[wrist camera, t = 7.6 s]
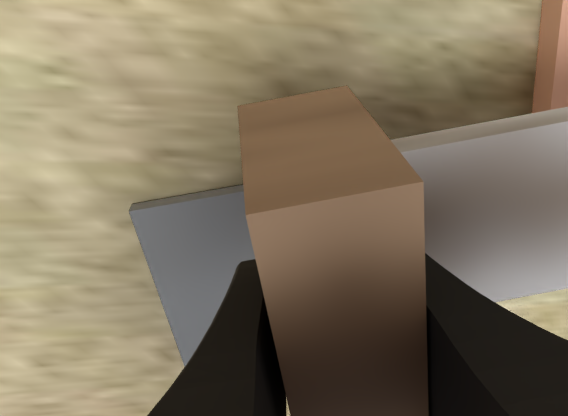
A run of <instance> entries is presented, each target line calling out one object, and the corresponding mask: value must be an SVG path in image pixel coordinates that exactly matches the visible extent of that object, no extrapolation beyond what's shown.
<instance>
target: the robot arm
mask: <svg viewBox="0 0 568 416" xmlns="http://www.w3.org/2000/svg"><path fill="white" fill-rule="evenodd" d="M425 274H426V319H427V364H428V410H429V416H568V340H566V339H563V338H561V337H559V336H557V335H555V334H553V333H550V332H548V331H546V330H544V329H542V328H540V327H538V326H536V325H534V324H533V323H531V322H529V321H527V320H525V319H523V318H521V317H519V316H518V315H516V314H514V313H512V312H510V311H508V310H507V309H505V308H503V307H501V306H500V305H498V304H496V303H495V302H493V301H492V300H490V299H489V298H487V297H485V296H484V295H482V294H481V293H479V292H478V291H476V290H474V289H473V288H472V287H470V286H469V285H467V284H466V283H464V282H463V281H462V280H460V279H459V278H458V277H456V276H455V275H453V274H452V273H451V272H449V271H448V270H447V269H445V268H444V267H443V266H441V265H440V264H439V263H438V262H436V261H435V260H434V259H432V258H431V257H430V256H429V255H427V254H426V253H425ZM147 416H286V392H285V388H284V383H283V379H282V375H281V370H280V366H279V361H278V357H277V352H276V348H275V344H274V339H273V335H272V330H271V326H270V321H269V317H268V312H267V308H266V304H265V299H264V295H263V290H262V286H261V281H260V277H259V273H258V268H257V264H256V259H253V260H247V261H241V262H240V263H239V264H238V266H237V268H236V270H235V273H234V276H233V278H232V281H231V283H230V286H229V288H228V290H227V293H226V295H225V297H224V299H223V301H222V303H221V305H220V307H219V309H218V311H217V313H216V315H215V317H214V319H213V321H212V323H211V325H210V327H209V329H208V330H207V332H206V334H205V335H204V337H203V339H202V340H201V342H200V344H199V345H198V347H197V349H196V351H195V352H194V354H193V355H192V357H191V358H190V360H189V361H188V363H187V365H186V366H185V367H184V369H183V370H182V372H181V373H180V375H179V376H178V377H177V379H176V380H175V381H174V383H173V384H172V386H171V387H170V388H169V390H168V391H167V392H166V393H165V395H164V396H163V397H162V398H161V400H160V401H159V402H158V403H157V404H156V406H155V407H154V408H153V409H152V411H151V412H150V413H149V414H148V415H147Z"/></svg>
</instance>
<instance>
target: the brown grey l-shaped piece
mask: <svg viewBox="0 0 568 416" xmlns="http://www.w3.org/2000/svg"><path fill="white" fill-rule="evenodd" d="M238 118H239V132H240V145H241V159H242V173H243V187H244V200H245V214H246V219H247V224H248V228H249V233H250V237H251V241H252V246H253V250H254V255H255V259H256V264H257V268H258V273H259V277H260V281H261V286H262V290H263V295H264V299H265V304H266V308H267V312H268V317H269V321H270V326H271V330H272V335H273V339H274V344H275V348H276V352H277V357H278V361H279V366H280V370H281V375H282V379H283V383H284V388H285V392H286V397H287V401H288V406H289V410H290V414H291V416H429V410H428V364H427V319H426V274H425V253H426V254H427V255H429V256H430V257H431V258H432V259H434V260H435V261H436V262H438V263H439V264H440V265H441V266H443V267H444V268H445V269H447V270H448V271H449V272H451V273H452V274H453V275H455V276H456V277H458V278H459V279H460V280H462V281H463V282H464V283H466V284H467V285H469V286H470V287H472V288H473V289H474V290H476V291H478V292H479V293H481V294H482V295H484V296H485V297H487V298H489V299H490V300H492V301H493V302H499V301H504V300H509V299H514V298H520V297H525V296H530V295H535V294H540V293H546V292H551V291H556V290H561V289H567V288H568V107H563V108H558V109H552V110H547V111H542V112H536V113H531V114H526V115H520V116H515V117H510V118H504V119H499V120H494V121H488V122H483V123H477V124H472V125H467V126H461V127H456V128H451V129H445V130H440V131H435V132H429V133H424V134H419V135H413V136H408V137H403V138H397V139H392V140H390V139H389V138H388V136H387V135H386V134H385V133H384V131H383V130H382V129H381V128H380V126H379V125H378V124H377V123H376V121H375V120H374V119H373V118H372V116H371V115H370V114H369V113H368V111H367V110H366V109H365V107H364V106H363V105H362V104H361V102H360V101H359V100H358V99H357V97H356V96H355V95H354V94H353V92H352V91H351V90H350V89H349V87H348V86H342V87H336V88H331V89H326V90H320V91H315V92H309V93H304V94H298V95H293V96H288V97H282V98H277V99H271V100H266V101H261V102H255V103H250V104H244V105H239V106H238Z"/></svg>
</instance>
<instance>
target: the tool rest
mask: <svg viewBox="0 0 568 416" xmlns="http://www.w3.org/2000/svg"><path fill="white" fill-rule="evenodd" d="M129 213H130V216H131V219H132V222H133V224H134V227H135V230H136V233H137V236H138V238H139V241H140V244H141V247H142V249H143V252H144V255H145V258H146V261H147V263H148V266H149V269H150V272H151V274H152V277H153V280H154V283H155V286H156V288H157V291H158V294H159V297H160V299H161V302H162V305H163V308H164V310H165V313H166V316H167V319H168V322H169V324H170V327H171V330H172V333H173V335H174V338H175V341H176V344H177V347H178V349H179V352H180V355H181V358H182V360H183V363H184V366H186V365H187V363H188V361H189V360H190V358H191V357H192V355H193V354H194V352H195V351H196V349H197V347H198V345H199V344H200V342H201V340H202V339H203V337H204V335H205V334H206V332H207V330H208V329H209V327H210V325H211V323H212V321H213V319H214V317H215V315H216V313H217V311H218V309H219V307H220V305H221V303H222V301H223V299H224V297H225V295H226V293H227V290H228V288H229V286H230V283H231V281H232V278H233V276H234V273H235V270H236V268H237V266H238V264H239V263H240V262H241V261H247V260H253V259H255V255H254V250H253V246H252V241H251V237H250V233H249V228H248V224H247V219H246V214H245V200H244V187H243V185H238V186H232V187H227V188H221V189H215V190H210V191H204V192H198V193H193V194H187V195H181V196H175V197H170V198H164V199H158V200H153V201H147V202H141V203H136V204H132V205H131V207H130V210H129Z"/></svg>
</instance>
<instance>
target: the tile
mask: <svg viewBox="0 0 568 416" xmlns="http://www.w3.org/2000/svg"><path fill="white" fill-rule="evenodd" d="M563 107H568V0H542V10H541V20H540V31H539V42H538V52H537V63H536V74H535V84H534V95H533V106H532V113H536V112H542V111H547V110H552V109H558V108H563Z"/></svg>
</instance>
